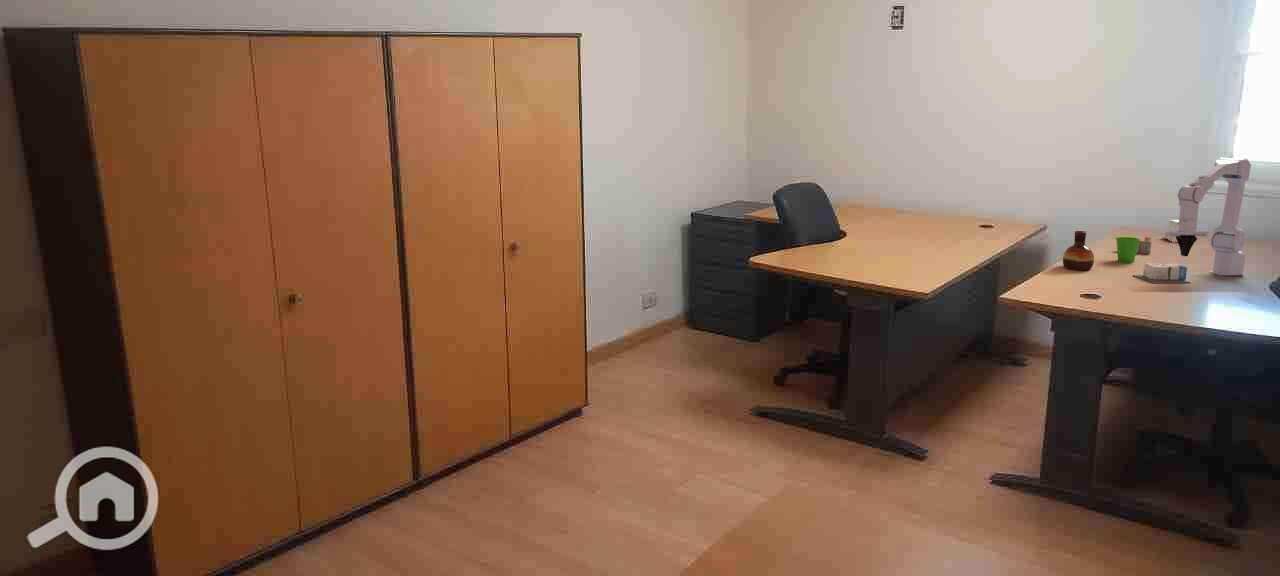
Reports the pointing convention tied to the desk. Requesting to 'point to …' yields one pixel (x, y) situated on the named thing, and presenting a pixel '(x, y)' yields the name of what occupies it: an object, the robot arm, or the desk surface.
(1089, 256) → the vase
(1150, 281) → the mat
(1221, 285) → the desk surface
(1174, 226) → the supplement box
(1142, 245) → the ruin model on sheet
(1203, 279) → the desk surface
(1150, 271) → the ink box
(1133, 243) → the cup
